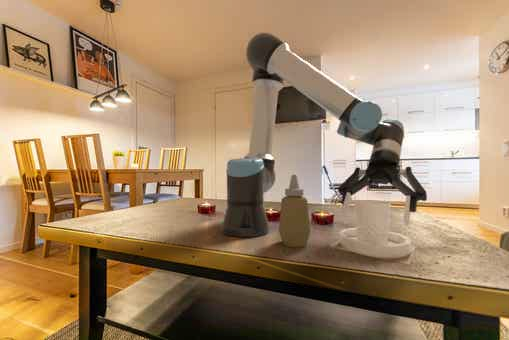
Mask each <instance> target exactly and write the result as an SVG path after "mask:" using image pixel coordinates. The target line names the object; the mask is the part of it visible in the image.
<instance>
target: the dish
mask: <svg viewBox="0 0 509 340" xmlns="http://www.w3.org/2000/svg"><path fill="white" fill-rule="evenodd" d="M356 232H357V231H356V227H352V228H351V227H350V228H344V229H342V230H341V231H338V241H339V240H340V245H341V246H342V247H343V248H345V249H347V250H349V251H351V252H350V253H354V254H357V255H361V256H365V257H370V258H377V259H381V258H387V259H396V258H404V257H407V256H409V255H410V250H411V245H412V240H411V239H410V238H409V237H407V236H405V235H404V234H402V233H397V232H393V231H390V230H389V235H388V245H383V244H371V243H366V242H361V241H357V233H356ZM349 251H348V252H349Z"/></svg>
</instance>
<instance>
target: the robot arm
mask: <svg viewBox="0 0 509 340" xmlns="http://www.w3.org/2000/svg"><path fill="white" fill-rule="evenodd" d="M245 53H246V54H245V55H246V60H247V62H248V64H249V66H250V67H251V69H252V71H253V72H252V81H251V85H252V87H253V88H254V90H255V91H254V101H253V111H252V118H251V119H252V120H251V131H250V140H249V147H248V148H249V149H248V153H247V154H245V155H244V157H243V158H242V157H241V158H232V159H229V160H228V161H227V164H226V170H225V171H226V209H225V214H224V217H223V221H222V223H221V233H222V234H224V235H226V236H231V237H236V238H252V237H254V238H255V237H259V236H263V235H266V234H268V233H269V232H270V223H269V221H268V217H267V213H266V210H265V207H264V193H266V192H268V191H269V190H271V189H272V187H273V186H274V184H275V182H276V171H275V162H276V159H275V158H274V157H273V155H272V152H273V146H274V145H273V143H274V133H275V126H276V123H275V122H276V114H277V107H278V106H277V105H278V96H279V91H281V90H282V89H283V87H284V81H285V82H286V83H287V84H289V85H291V86H292V87H293V88H294V89H296V90H297V91H299V92H300V93H301V94H303V95H304V96H306V97H307V98H308V99H310V100H311V101H313V102H314V103H315V104H317V105H318V106H320V107H321V108H322V109H323V110H325V111H326V112H328V113H329V114H330V115H332V117H334V118H336V119H337V120H338V121H340V122H339V124H338V127H337V130H336V133H337V134H338V135H339V136H341V137H344V138H348V139H351V140H354V141H358V142H360V143H364V144H367V145H370V146H373V147H372V149H371V154H370V157H369V161H368V165H367V168H366V169H361V168H360V167H355V169H354V171H353V173H352V174H351V175H349V176H348V178H347V179H346V180H344V181H343V182H342V183H341V185H339V186H338V187H337V191H338V194H339V196H340V197H341V202H340V203H341V204H342V208H341V214H342V216H343V218H348V215H349V212H350V211H349V210H350V208H351V204H352V200H353V198H352V197H353V195H355V194H357V193H358V192H360V191H361V190H363V189H364V188H366V187H368V186H371V185H373V184H374V185H379V184H380V185H388V184H390V185H391V186H392V187H394V188H395V189H397V190H398V191H399V192H400V193H402V194H403V195H404V196H405V203H404V204H405V206H404V214H403V220H404V221H403V222H404V225H405V226H410V220H411V213H416V212H417V208H418V202H419V201H422V202H426V201H427V200H428V195H427V191H426V190H425V188H424V187H423V186H422V184H421V183H420V181H419V180H418V179H417V177H416V176H415V175H414V174H413V172H412V171H413V170H412V167H411V166H406V167H405V169H400V163H401V162H400V161H401V160H400V159H401V155H402V154H401V153H402V147H403V140H404V137H405V129H404V128H405V127H404V124H403V123H402V122H401V121H400V120H398V119H394V118H391V119H389V118H387V119H384V120H382V118H383V112H382V108H381V107H380V105H379V104H378V103H376V102H374V101H370V100H369V101H368V100H366V101H365V100H363V99H362V98H359V97H358V96H356V95H354V94H353V93H351V92H350V91H349V90H348V89H347V88H345V87H343V86H341V85H340V84H339V83H337V82H336V81H334V80H333V79H332V78H330V77H329V76H327V75H326V74H324V73H323V72H321V71H320V70H319V69H317V68H316V67H314V66H313V65H312V64H310V63H309V62H308V61H306V60H304V59H302V58H301V57H300V56H298V55H297V54H295V53H294V52H292V51H291V50H290V47H289V44H287V43H286V42H285V41H283V40H282V39H280V38H279V37H277V36H276V35H274V34H272V33H269V32H260V33H257V34H255V35H253V36H252V38H250V40H249V42H248V44H247V47H246V51H245ZM381 120H382V121H381ZM399 176H402V178H403V177H404V179H406V181H407V182H408V184H409V185H410V186H411V188H410V187H409V185H407V184H406V183H404V181H402V179H400V178H399Z"/></svg>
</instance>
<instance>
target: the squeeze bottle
mask: <svg viewBox="0 0 509 340" xmlns="http://www.w3.org/2000/svg"><path fill="white" fill-rule="evenodd" d="M284 194H285V196H283V197H282V198H281V203H280V214H279V224H278V232H279V236H280V238H281V242H282V245H284V246H286V247H290V248H303V247H306V246H307V244H308V241H309V238H310V235H311V224H310V223H311V221H310V213H309V212H310V211H309V205H308V199H307V198H306V197H305V196H304V189H303V188H301V187H300V185H299V181H298V176H297V174H291V177H290V182H289V187H288V188H285V189H284Z"/></svg>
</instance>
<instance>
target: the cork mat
mask: <svg viewBox="0 0 509 340" xmlns="http://www.w3.org/2000/svg"><path fill="white" fill-rule="evenodd" d="M329 248H332V249H336V250H341V251H346V252H350V253H352V252H351V251H349V250H347V249H345V248H343V247H342V246H341V245H340V240H339V239H338V241H336V242H335V243H333V244H332V245H331V246H329ZM416 248H417V246H416V245H412V244H411V250H410V255H409V256H407V257H404V258H396V259H387V258H380V260H381V259H382V260H386V261H389V262H395V263H398V264H399V263H400V264H404V265H408V266H410V264H411V262H412V258H413V255H414V253H415V250H416Z"/></svg>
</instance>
